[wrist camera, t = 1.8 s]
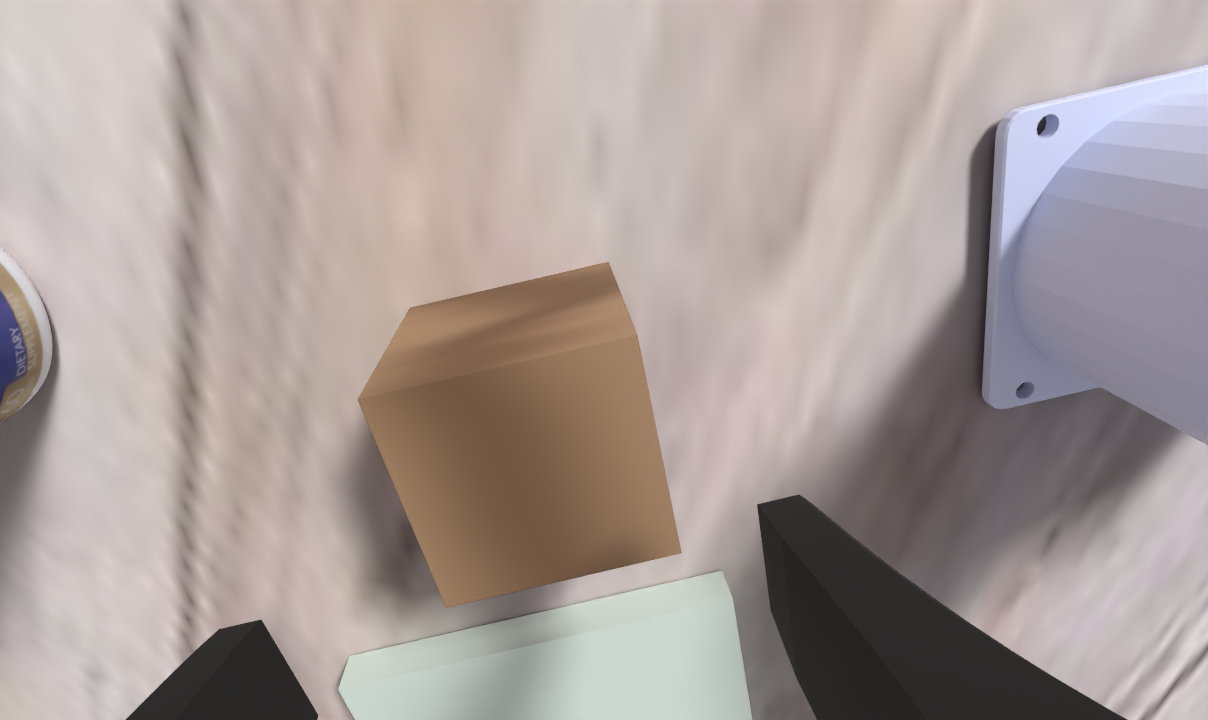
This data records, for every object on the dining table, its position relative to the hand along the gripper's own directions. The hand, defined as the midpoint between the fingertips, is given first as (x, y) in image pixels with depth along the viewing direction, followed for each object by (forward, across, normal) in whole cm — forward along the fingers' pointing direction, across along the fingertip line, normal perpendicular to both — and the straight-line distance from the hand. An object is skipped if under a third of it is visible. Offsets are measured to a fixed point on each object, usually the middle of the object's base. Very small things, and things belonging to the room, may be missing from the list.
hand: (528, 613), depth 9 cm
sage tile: (+8, +2, +14) cm, 16 cm away
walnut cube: (+8, 0, 0) cm, 8 cm away
